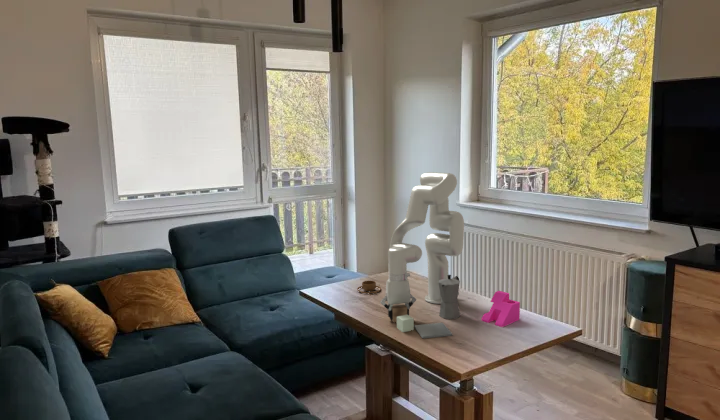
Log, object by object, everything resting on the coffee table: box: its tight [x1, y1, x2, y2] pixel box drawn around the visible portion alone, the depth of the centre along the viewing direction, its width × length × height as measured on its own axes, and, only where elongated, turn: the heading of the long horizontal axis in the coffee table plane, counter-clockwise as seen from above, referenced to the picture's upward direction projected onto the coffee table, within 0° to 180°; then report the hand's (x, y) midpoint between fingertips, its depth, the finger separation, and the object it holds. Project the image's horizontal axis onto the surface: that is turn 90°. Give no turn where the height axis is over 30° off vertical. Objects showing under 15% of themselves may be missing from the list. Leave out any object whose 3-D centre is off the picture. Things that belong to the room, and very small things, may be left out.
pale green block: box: [396, 314, 415, 333], centre depth 210 cm, size 5×5×5 cm
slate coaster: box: [414, 322, 453, 339], centre depth 207 cm, size 12×12×1 cm
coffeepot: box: [438, 274, 461, 320], centre depth 224 cm, size 15×9×18 cm, turn 144°
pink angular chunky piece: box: [480, 290, 521, 328], centre depth 216 cm, size 12×10×10 cm
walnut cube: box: [391, 303, 407, 323], centre depth 221 cm, size 6×6×6 cm
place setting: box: [357, 280, 382, 295], centre depth 262 cm, size 18×20×6 cm
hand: (398, 317), depth 221 cm, fingers closed on walnut cube, 6 cm apart
